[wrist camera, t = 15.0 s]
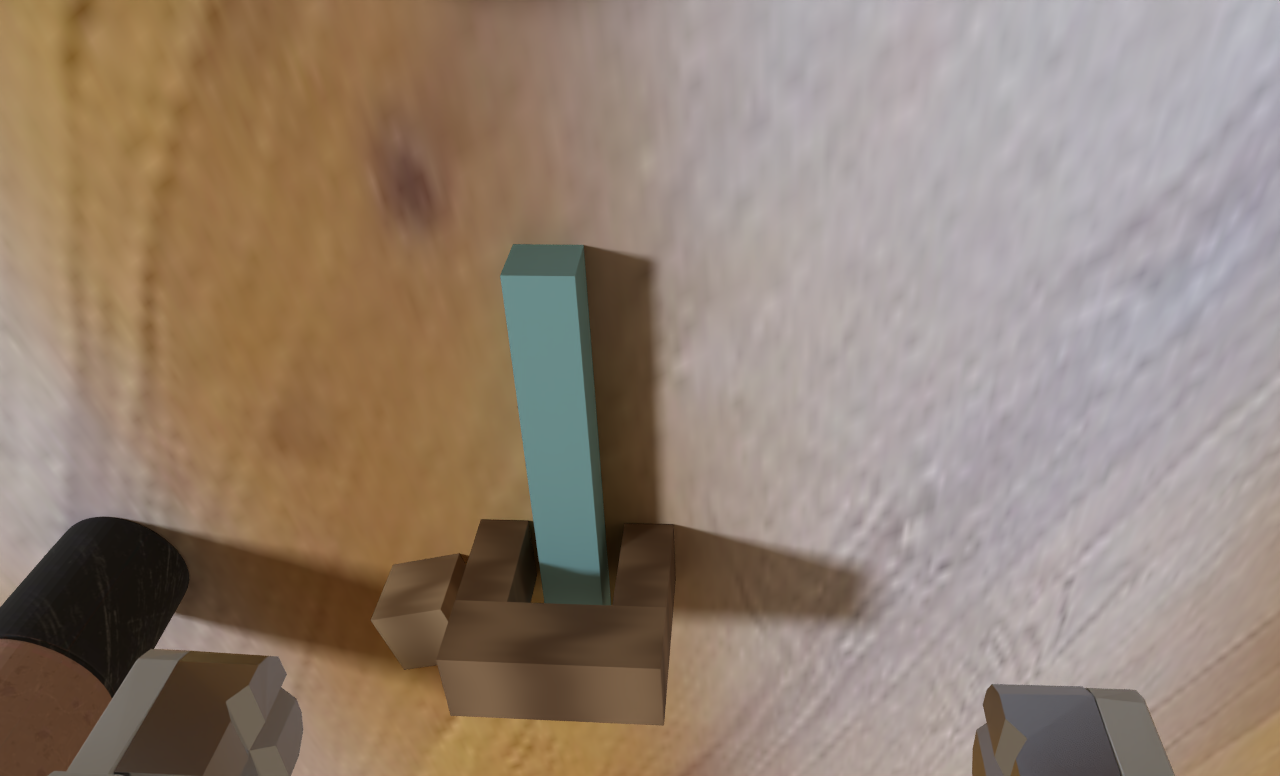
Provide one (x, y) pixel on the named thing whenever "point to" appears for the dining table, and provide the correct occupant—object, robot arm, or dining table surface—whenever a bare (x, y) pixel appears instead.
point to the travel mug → (79, 637)
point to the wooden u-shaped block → (560, 635)
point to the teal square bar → (558, 417)
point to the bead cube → (418, 608)
